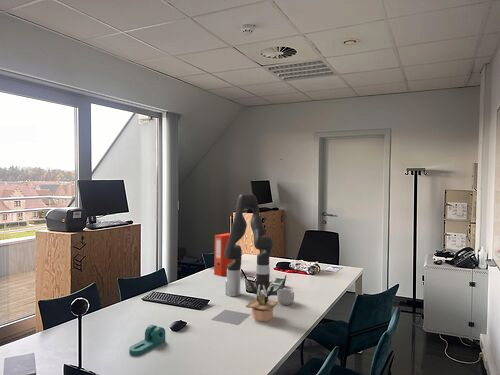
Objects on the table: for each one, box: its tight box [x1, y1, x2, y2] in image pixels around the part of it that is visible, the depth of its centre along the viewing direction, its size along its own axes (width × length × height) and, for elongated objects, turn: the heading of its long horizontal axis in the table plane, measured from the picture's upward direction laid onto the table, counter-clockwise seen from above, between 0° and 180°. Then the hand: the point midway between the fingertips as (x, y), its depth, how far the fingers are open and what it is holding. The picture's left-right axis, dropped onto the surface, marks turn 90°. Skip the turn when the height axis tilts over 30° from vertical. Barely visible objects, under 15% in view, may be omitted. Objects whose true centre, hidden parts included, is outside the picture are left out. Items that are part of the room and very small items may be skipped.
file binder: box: [213, 232, 237, 277], centre depth 302 cm, size 8×17×32 cm, turn 142°
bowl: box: [251, 308, 274, 322], centre depth 208 cm, size 11×11×6 cm
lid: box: [245, 293, 279, 311], centre depth 208 cm, size 14×14×6 cm
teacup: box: [276, 287, 295, 306], centre depth 234 cm, size 14×11×8 cm
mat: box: [210, 309, 252, 326], centre depth 208 cm, size 17×17×1 cm
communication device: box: [268, 274, 287, 296], centre depth 260 cm, size 12×24×9 cm, turn 159°
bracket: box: [128, 324, 166, 357], centre depth 172 cm, size 18×7×8 cm, turn 150°
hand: (262, 302), depth 208 cm, fingers closed on lid, 3 cm apart
